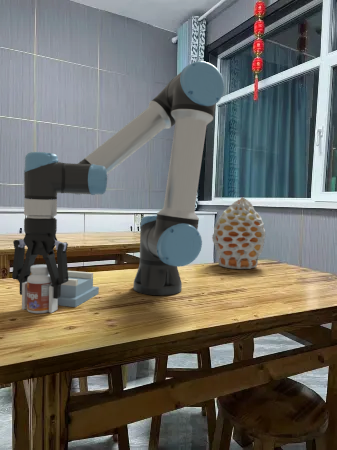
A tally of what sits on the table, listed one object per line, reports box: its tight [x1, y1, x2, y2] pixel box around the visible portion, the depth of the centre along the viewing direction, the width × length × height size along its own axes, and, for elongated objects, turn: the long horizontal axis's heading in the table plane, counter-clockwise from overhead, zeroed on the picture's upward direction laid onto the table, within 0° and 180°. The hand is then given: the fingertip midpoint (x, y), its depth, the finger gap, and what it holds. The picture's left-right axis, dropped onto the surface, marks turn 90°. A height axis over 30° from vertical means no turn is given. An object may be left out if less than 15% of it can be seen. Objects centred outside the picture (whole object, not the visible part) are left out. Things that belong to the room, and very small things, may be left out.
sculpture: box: [211, 197, 266, 270], centre depth 156 cm, size 21×22×30 cm
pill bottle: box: [26, 264, 52, 314], centre depth 90 cm, size 6×6×11 cm
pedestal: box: [58, 270, 100, 308], centre depth 102 cm, size 12×14×6 cm
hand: (39, 309), depth 91 cm, fingers open, 7 cm apart
